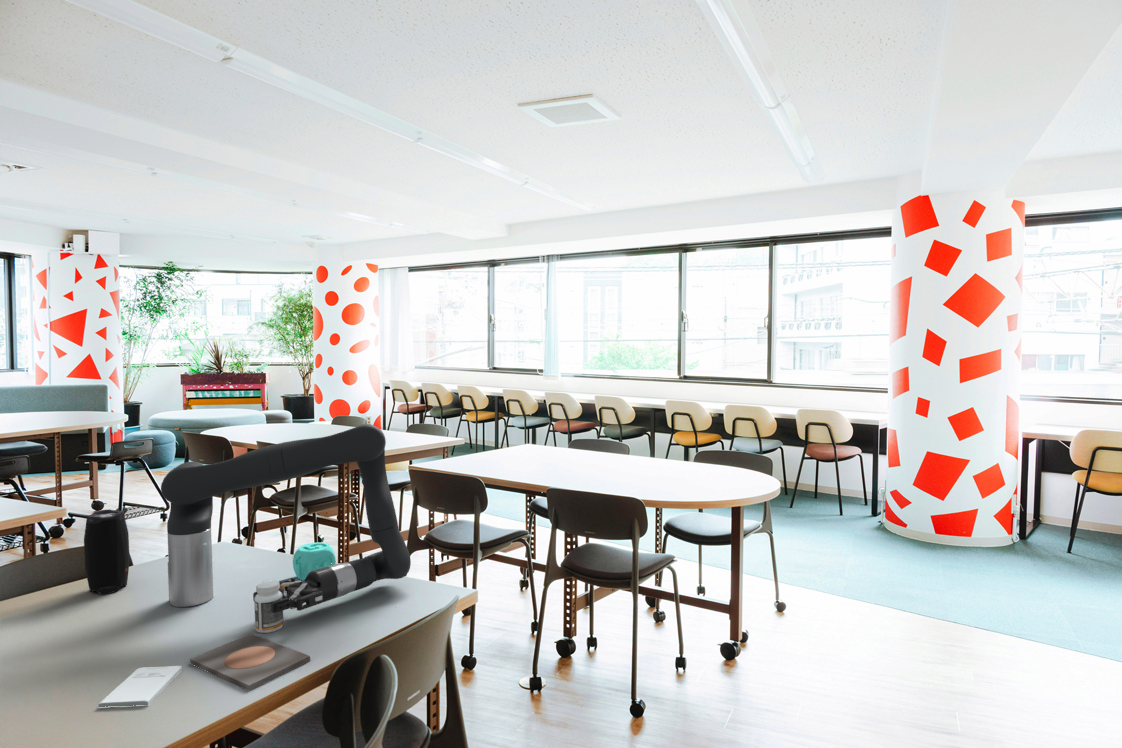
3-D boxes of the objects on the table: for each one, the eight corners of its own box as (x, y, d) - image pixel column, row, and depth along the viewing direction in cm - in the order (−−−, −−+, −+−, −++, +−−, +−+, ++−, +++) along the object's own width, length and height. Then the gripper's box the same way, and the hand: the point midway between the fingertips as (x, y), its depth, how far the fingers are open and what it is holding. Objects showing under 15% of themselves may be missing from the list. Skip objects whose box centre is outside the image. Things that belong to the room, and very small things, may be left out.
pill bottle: (288, 623, 149) (287, 579, 148) (274, 634, 143) (273, 589, 142) (264, 622, 149) (262, 578, 149) (249, 633, 143) (248, 588, 143)
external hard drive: (98, 712, 115) (137, 675, 127) (148, 709, 115) (182, 673, 128) (97, 703, 115) (137, 666, 127) (148, 700, 115) (182, 664, 128)
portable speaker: (138, 584, 172) (135, 509, 171) (104, 598, 163) (100, 519, 162) (112, 580, 175) (109, 506, 173) (77, 594, 166) (74, 516, 164)
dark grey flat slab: (189, 663, 130) (189, 658, 130) (251, 638, 141) (251, 633, 141) (249, 690, 120) (249, 684, 120) (310, 660, 131) (310, 655, 131)
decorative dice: (292, 577, 177) (292, 547, 177) (320, 569, 183) (320, 540, 183) (308, 584, 172) (307, 553, 171) (336, 575, 178) (335, 546, 178)
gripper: (315, 559, 161) (247, 578, 149) (347, 573, 152) (277, 594, 140) (316, 590, 162) (248, 611, 150) (348, 606, 152) (278, 629, 140)
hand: (262, 603), depth 145 cm, fingers open, 8 cm apart
